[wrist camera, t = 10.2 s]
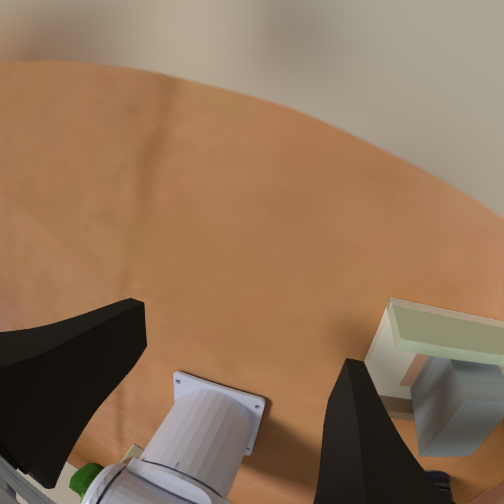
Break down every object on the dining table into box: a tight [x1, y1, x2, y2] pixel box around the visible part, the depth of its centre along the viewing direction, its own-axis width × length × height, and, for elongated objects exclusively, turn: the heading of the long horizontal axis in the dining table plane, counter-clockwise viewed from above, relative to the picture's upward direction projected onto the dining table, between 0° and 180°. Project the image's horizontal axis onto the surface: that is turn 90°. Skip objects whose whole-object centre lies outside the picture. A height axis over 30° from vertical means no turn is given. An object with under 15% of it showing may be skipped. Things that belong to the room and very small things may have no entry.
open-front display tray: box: [364, 297, 504, 420], centre depth 16 cm, size 8×12×4 cm, turn 82°
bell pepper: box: [69, 463, 103, 503], centre depth 38 cm, size 8×8×10 cm
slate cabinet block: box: [410, 356, 504, 457], centre depth 14 cm, size 5×4×6 cm
